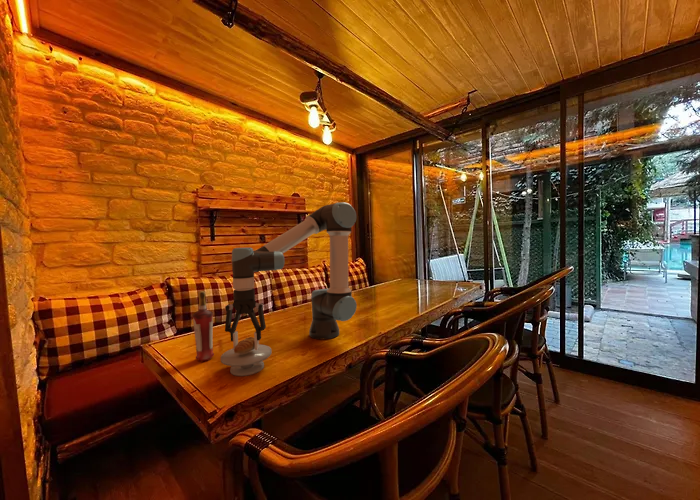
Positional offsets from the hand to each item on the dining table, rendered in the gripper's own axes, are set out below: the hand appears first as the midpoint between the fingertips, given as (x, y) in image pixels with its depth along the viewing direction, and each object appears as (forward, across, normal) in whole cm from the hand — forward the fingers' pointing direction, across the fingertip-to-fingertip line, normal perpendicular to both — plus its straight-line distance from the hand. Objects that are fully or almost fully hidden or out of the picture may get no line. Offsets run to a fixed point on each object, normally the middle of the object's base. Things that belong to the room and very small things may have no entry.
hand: (246, 349), depth 109 cm
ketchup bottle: (+8, +21, -11) cm, 25 cm away
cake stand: (+8, 0, 0) cm, 8 cm away
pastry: (0, 0, 0) cm, 0 cm away
